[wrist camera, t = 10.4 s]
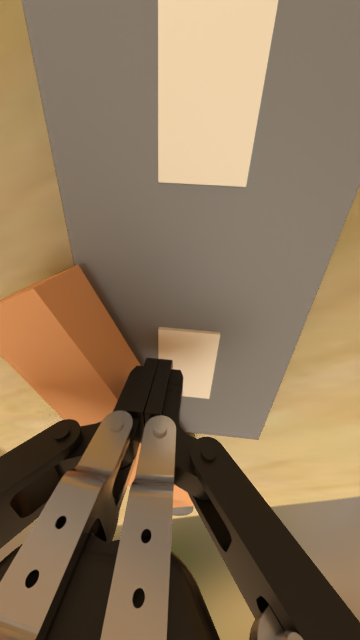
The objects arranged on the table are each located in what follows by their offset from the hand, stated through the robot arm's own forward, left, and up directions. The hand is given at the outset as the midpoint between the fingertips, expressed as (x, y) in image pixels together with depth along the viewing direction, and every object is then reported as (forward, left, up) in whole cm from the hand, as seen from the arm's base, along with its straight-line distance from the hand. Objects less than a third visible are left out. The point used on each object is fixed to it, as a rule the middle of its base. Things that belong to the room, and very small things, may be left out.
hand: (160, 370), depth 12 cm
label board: (-1, +2, -4) cm, 4 cm away
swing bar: (+5, -2, -2) cm, 5 cm away
